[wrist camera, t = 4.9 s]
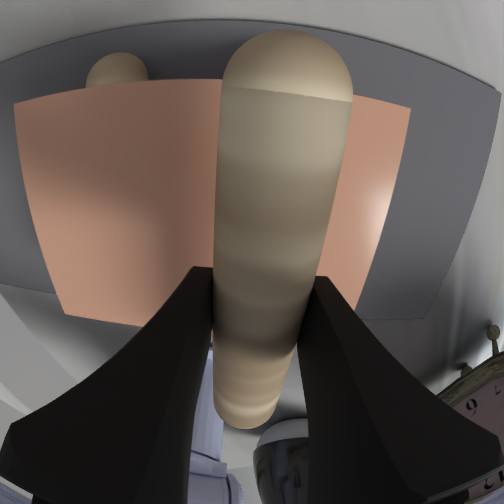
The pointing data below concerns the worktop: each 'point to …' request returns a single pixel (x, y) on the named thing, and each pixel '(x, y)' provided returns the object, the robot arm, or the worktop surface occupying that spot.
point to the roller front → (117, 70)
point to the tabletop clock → (482, 405)
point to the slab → (171, 191)
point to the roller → (271, 209)
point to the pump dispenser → (283, 463)
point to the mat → (364, 83)
